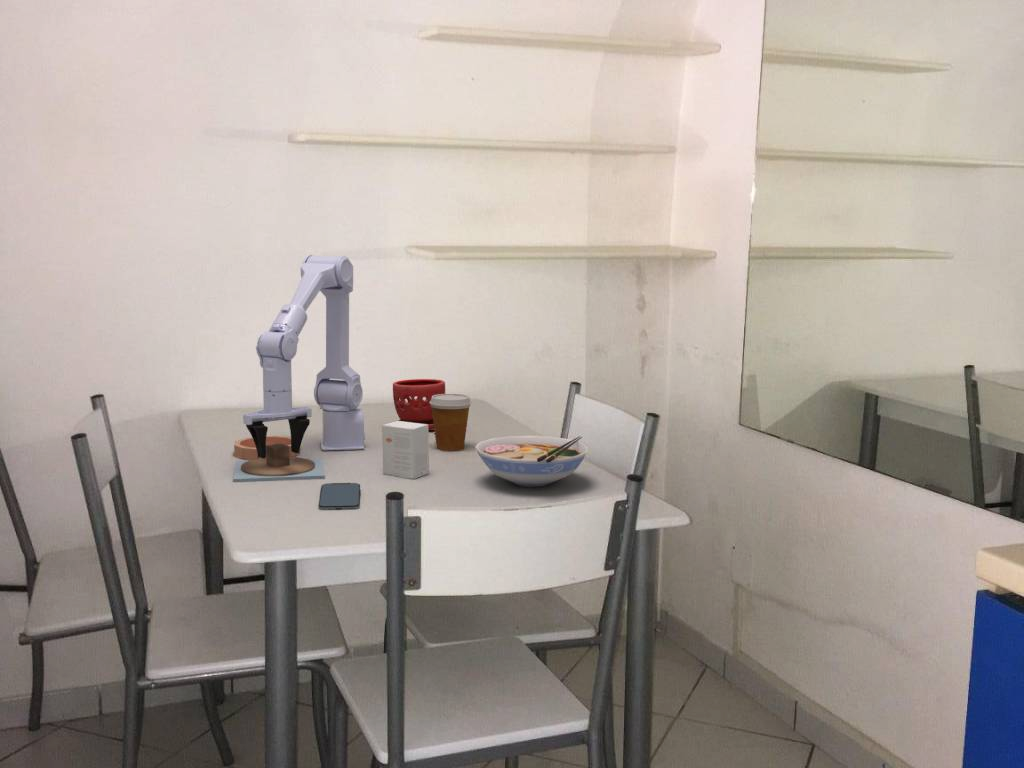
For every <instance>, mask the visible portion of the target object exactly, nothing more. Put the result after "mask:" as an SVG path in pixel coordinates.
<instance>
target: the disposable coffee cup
mask: <svg viewBox="0 0 1024 768" xmlns="http://www.w3.org/2000/svg"><path fill="white" fill-rule="evenodd" d="M430 404H431V407H432V414H433V422H434V430H433V431H434V438H435V446H436V450H439V451H443V452H455V451H456V452H457V451H462V450H463V449H465V441H466V433H467V426H468V421H469V420H468V419H469V412H470V407H471V404H472V401H471V400H470V396H469V395H467V394H460V393H445V394H438V395H433V396H432V398H431V401H430Z"/></svg>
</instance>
